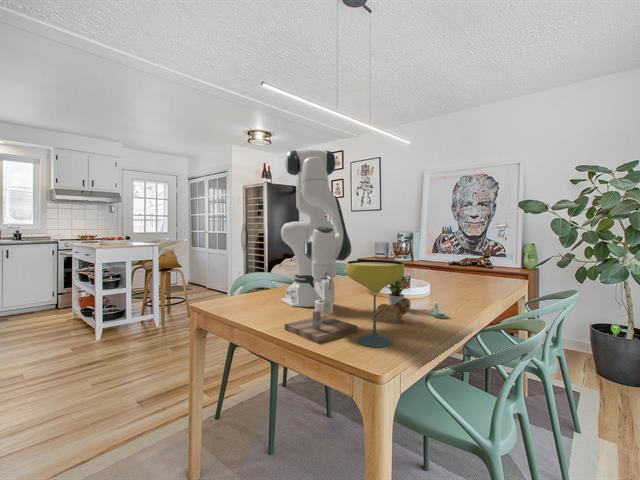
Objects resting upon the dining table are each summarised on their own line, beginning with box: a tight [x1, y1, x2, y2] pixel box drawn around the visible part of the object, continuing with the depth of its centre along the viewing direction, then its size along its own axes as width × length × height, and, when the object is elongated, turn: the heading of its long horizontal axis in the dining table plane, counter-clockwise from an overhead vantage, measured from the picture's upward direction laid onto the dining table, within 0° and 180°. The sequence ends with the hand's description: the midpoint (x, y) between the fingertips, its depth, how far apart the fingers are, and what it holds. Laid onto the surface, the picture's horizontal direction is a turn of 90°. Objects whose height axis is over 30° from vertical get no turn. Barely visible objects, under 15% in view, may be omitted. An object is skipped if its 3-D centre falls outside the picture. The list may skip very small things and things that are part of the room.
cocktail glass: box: [345, 259, 405, 348], centre depth 103 cm, size 18×18×25 cm
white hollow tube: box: [314, 299, 334, 316], centre depth 120 cm, size 6×6×4 cm
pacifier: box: [429, 301, 448, 319], centre depth 133 cm, size 7×6×6 cm
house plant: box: [385, 276, 412, 305], centre depth 144 cm, size 14×14×16 cm
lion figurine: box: [372, 297, 411, 324], centre depth 126 cm, size 15×5×9 cm, turn 92°
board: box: [284, 310, 358, 344], centre depth 115 cm, size 18×18×8 cm
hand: (323, 309), depth 120 cm, fingers closed on white hollow tube, 6 cm apart
